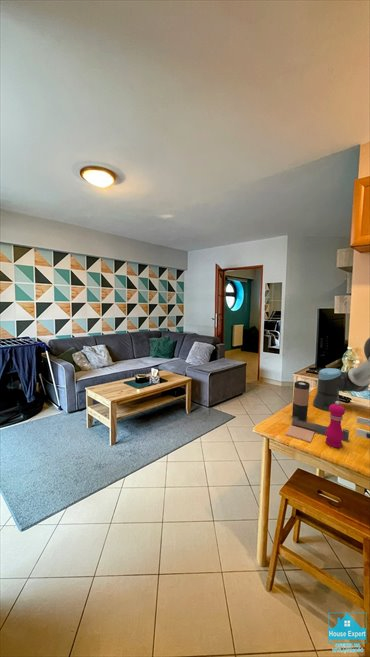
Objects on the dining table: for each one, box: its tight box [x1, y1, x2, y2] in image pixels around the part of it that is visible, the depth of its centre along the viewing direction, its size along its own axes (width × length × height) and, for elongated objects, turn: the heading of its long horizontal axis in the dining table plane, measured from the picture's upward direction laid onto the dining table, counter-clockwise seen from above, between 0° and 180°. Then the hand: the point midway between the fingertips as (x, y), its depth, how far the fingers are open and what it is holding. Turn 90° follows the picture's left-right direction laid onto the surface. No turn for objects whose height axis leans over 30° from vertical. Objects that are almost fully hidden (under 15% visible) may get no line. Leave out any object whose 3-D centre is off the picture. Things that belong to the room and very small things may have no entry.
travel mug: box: [291, 380, 311, 421], centre depth 139 cm, size 8×8×20 cm
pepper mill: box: [324, 401, 346, 449], centre depth 114 cm, size 7×7×20 cm
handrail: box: [291, 416, 350, 443], centre depth 125 cm, size 24×2×4 cm, turn 55°
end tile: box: [285, 424, 316, 444], centre depth 123 cm, size 11×11×1 cm
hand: (356, 425), depth 109 cm, fingers open, 13 cm apart
